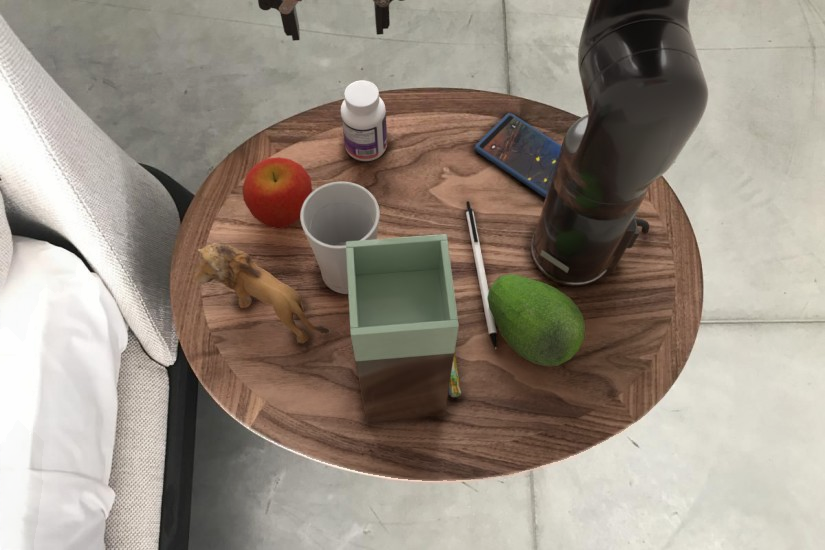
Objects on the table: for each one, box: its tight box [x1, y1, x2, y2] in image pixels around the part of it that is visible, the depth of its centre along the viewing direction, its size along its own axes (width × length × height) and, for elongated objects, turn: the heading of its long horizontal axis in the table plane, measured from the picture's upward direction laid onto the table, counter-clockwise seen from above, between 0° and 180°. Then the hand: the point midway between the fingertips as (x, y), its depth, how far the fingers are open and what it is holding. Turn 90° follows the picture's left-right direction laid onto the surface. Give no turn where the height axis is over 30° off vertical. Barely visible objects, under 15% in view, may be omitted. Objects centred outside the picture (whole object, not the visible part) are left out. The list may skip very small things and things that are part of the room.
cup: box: [299, 181, 380, 295], centre depth 78 cm, size 8×8×12 cm
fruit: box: [487, 273, 586, 367], centre depth 76 cm, size 8×8×12 cm
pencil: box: [448, 352, 462, 398], centre depth 80 cm, size 1×1×18 cm
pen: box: [465, 200, 498, 350], centre depth 82 cm, size 1×19×1 cm, turn 7°
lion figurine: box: [194, 242, 330, 344], centre depth 77 cm, size 15×5×9 cm, turn 66°
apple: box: [242, 156, 313, 230], centre depth 83 cm, size 8×8×8 cm
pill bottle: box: [340, 79, 388, 162], centre depth 87 cm, size 5×5×10 cm
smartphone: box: [473, 112, 562, 199], centre depth 90 cm, size 8×1×15 cm
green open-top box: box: [346, 233, 460, 423], centre depth 67 cm, size 8×8×24 cm
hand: (338, 31), depth 74 cm, fingers open, 8 cm apart
